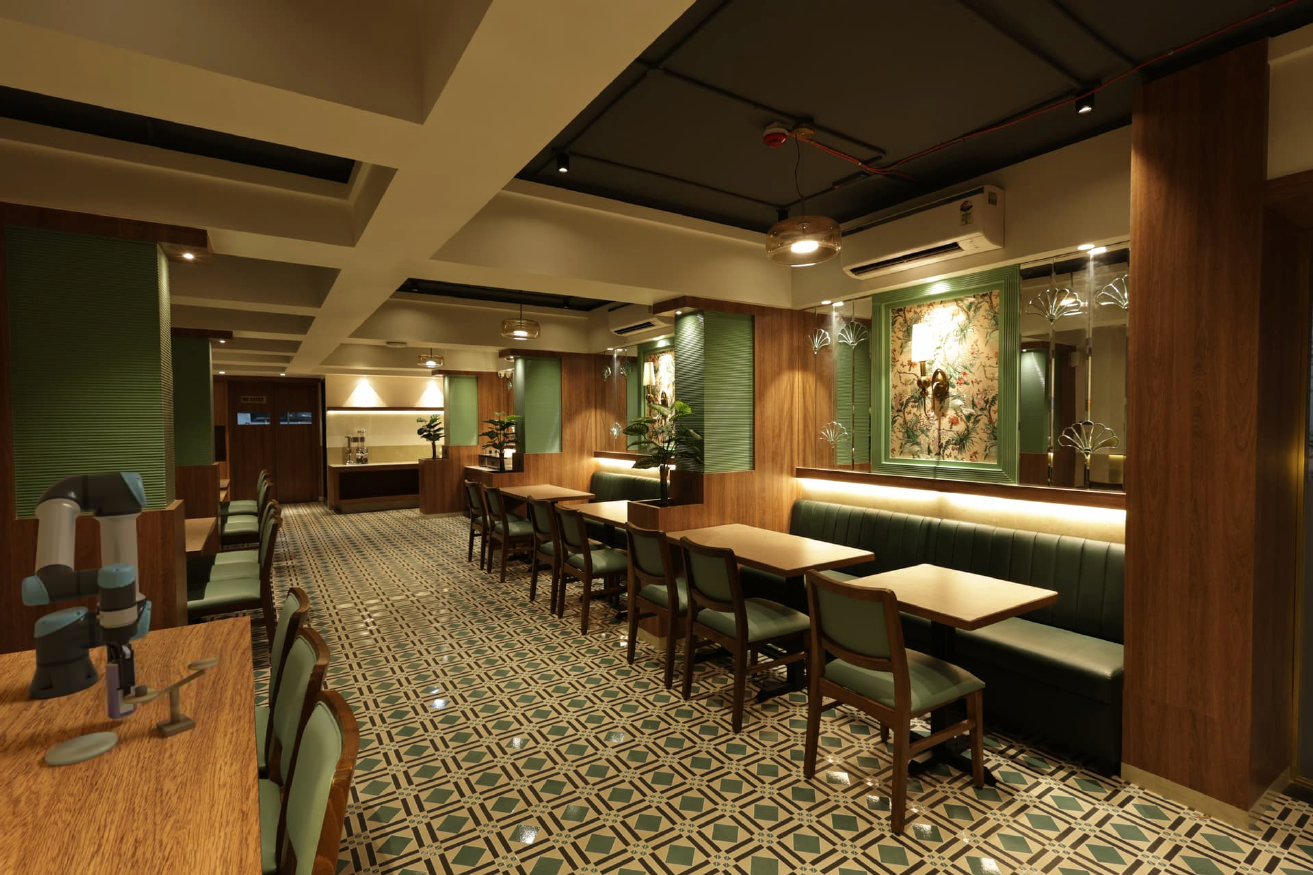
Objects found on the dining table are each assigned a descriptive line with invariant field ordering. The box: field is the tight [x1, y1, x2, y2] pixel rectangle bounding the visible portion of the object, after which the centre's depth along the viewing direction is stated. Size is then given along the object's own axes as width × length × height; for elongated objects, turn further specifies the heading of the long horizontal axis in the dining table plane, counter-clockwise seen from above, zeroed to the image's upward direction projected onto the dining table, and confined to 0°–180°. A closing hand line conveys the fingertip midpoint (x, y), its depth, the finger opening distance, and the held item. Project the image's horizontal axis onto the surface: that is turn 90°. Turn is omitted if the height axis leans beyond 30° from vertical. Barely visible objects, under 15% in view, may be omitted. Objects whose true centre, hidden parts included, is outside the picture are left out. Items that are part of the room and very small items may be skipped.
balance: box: [123, 657, 221, 738], centre depth 160 cm, size 8×21×15 cm, turn 145°
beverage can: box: [105, 659, 138, 720], centre depth 163 cm, size 6×6×15 cm
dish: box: [44, 731, 119, 767], centre depth 150 cm, size 13×13×1 cm
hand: (122, 707), depth 163 cm, fingers closed on beverage can, 6 cm apart
